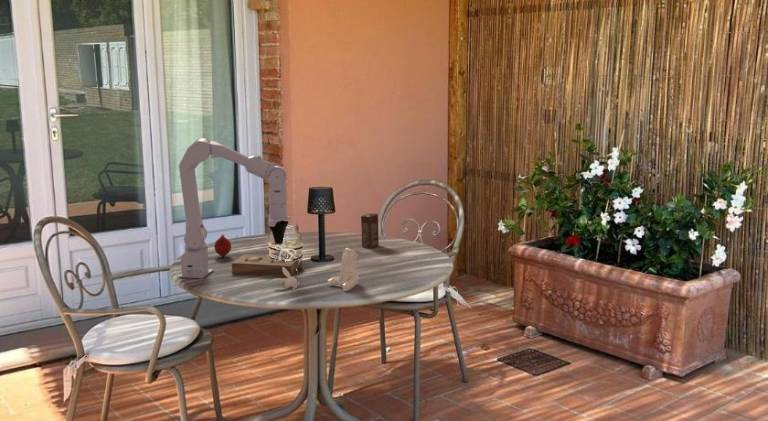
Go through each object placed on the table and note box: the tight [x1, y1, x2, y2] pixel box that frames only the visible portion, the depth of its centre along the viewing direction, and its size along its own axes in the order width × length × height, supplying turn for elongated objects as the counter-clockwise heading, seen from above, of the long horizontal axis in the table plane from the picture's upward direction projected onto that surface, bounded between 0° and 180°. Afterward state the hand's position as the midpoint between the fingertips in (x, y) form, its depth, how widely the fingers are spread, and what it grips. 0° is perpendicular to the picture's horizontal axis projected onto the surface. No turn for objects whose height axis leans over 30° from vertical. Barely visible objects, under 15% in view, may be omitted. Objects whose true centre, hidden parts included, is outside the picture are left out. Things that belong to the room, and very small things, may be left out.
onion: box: [214, 234, 232, 258], centre depth 275 cm, size 6×6×8 cm
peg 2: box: [273, 259, 285, 263], centre depth 258 cm, size 4×4×3 cm
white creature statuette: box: [327, 247, 360, 292], centre depth 241 cm, size 10×9×12 cm
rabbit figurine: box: [271, 267, 300, 290], centre depth 240 cm, size 6×4×8 cm
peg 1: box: [247, 257, 260, 262], centre depth 259 cm, size 4×4×3 cm
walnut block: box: [231, 254, 298, 277], centre depth 259 cm, size 11×20×4 cm, turn 79°
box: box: [360, 213, 380, 249], centre depth 290 cm, size 6×4×12 cm
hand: (278, 243), depth 256 cm, fingers closed
